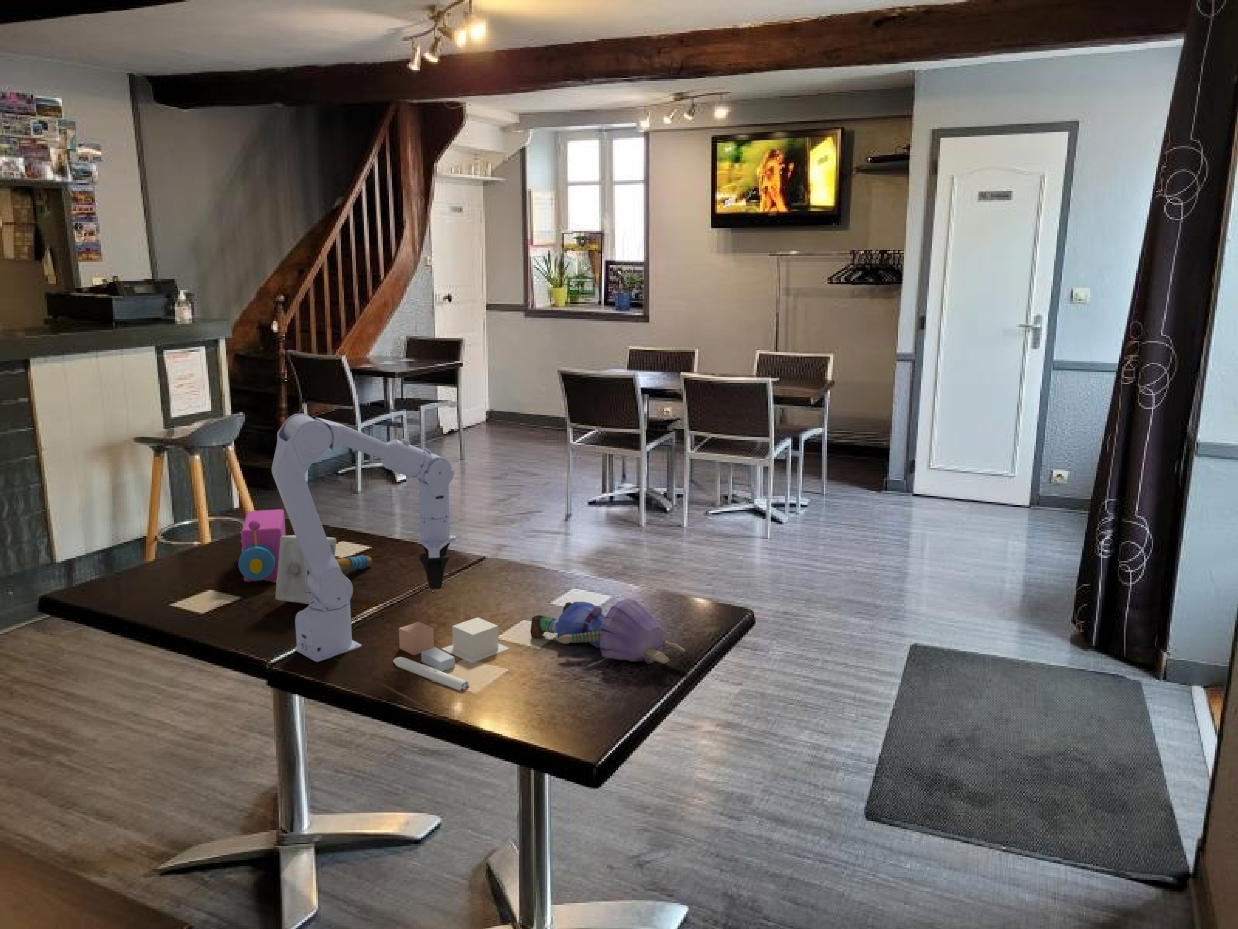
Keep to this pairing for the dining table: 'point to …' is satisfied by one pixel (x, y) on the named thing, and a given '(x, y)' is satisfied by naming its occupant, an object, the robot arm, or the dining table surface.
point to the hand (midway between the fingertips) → (436, 582)
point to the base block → (475, 637)
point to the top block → (416, 638)
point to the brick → (437, 659)
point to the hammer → (294, 570)
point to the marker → (431, 673)
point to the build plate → (472, 660)
